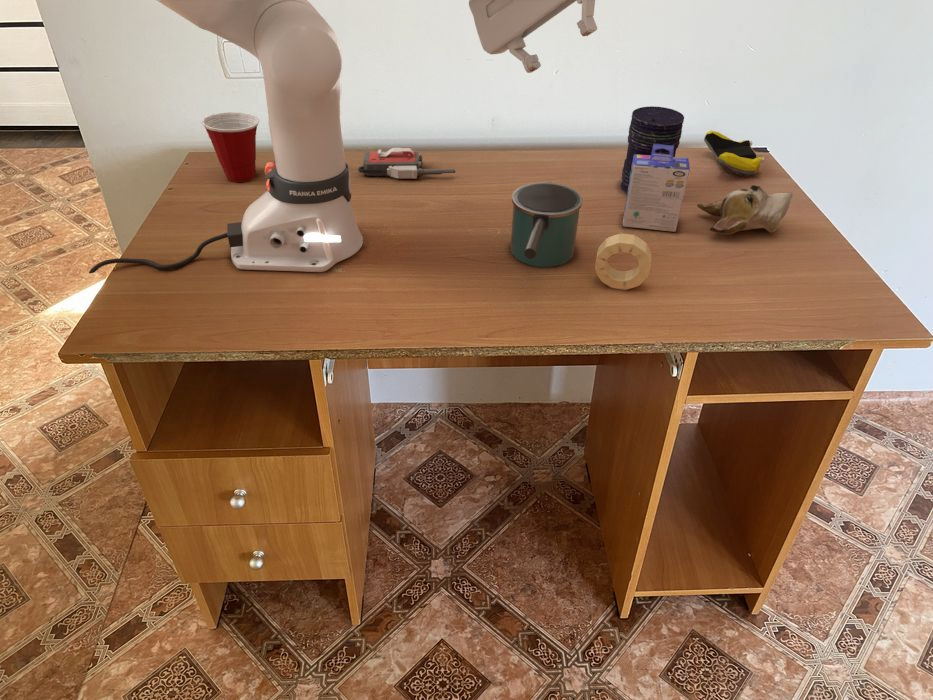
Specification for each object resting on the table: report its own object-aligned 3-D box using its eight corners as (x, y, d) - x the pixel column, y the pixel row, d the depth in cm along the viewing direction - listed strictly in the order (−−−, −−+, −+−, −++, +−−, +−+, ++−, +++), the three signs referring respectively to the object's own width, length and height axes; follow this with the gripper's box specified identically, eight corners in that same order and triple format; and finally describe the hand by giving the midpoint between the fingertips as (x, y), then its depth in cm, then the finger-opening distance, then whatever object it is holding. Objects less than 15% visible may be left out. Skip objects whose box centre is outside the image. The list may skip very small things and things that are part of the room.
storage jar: (629, 174, 144) (641, 102, 134) (675, 185, 140) (691, 112, 130) (612, 192, 137) (623, 118, 127) (660, 204, 133) (675, 129, 124)
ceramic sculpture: (805, 198, 116) (715, 200, 117) (793, 243, 121) (706, 245, 122) (785, 171, 124) (701, 174, 125) (774, 215, 130) (693, 217, 131)
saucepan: (515, 230, 125) (518, 178, 118) (579, 238, 123) (586, 186, 116) (490, 296, 108) (492, 240, 102) (563, 306, 106) (570, 250, 100)
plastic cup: (278, 177, 141) (268, 120, 133) (229, 192, 135) (215, 133, 128) (254, 161, 147) (243, 105, 140) (206, 174, 142) (192, 117, 134)
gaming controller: (715, 181, 141) (764, 182, 141) (722, 156, 138) (772, 156, 138) (698, 152, 153) (742, 152, 153) (703, 128, 149) (749, 128, 149)
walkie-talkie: (357, 181, 140) (455, 180, 141) (355, 160, 137) (455, 159, 138) (360, 163, 147) (454, 162, 148) (359, 143, 144) (453, 142, 145)
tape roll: (592, 285, 111) (599, 239, 105) (594, 275, 113) (600, 230, 108) (645, 292, 109) (654, 247, 104) (645, 282, 111) (655, 237, 106)
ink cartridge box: (676, 219, 128) (692, 144, 119) (677, 233, 124) (694, 157, 115) (622, 213, 130) (635, 139, 121) (622, 227, 126) (634, 152, 117)
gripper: (450, -6, 92) (490, 92, 94) (567, -108, 78) (613, 10, 79) (478, -7, 97) (517, 87, 98) (595, -103, 82) (637, 9, 84)
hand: (561, 52), depth 89 cm, fingers open, 8 cm apart
